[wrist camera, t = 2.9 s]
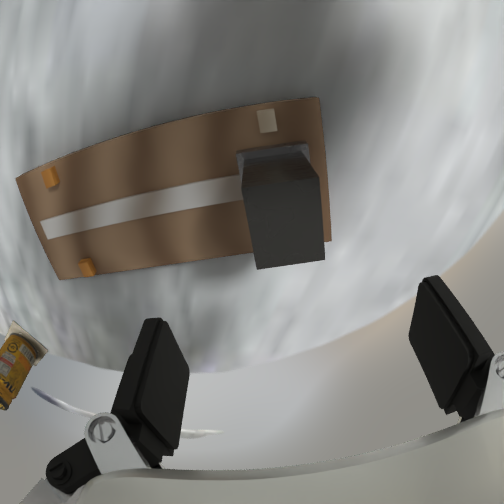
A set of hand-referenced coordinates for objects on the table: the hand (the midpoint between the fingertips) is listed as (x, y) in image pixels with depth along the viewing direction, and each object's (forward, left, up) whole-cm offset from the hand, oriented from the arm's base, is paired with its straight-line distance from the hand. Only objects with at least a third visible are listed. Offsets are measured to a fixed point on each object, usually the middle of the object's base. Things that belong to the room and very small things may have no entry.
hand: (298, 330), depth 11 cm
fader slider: (0, -1, -14) cm, 14 cm away
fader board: (+10, -1, -17) cm, 19 cm away
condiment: (+42, +17, -17) cm, 48 cm away
